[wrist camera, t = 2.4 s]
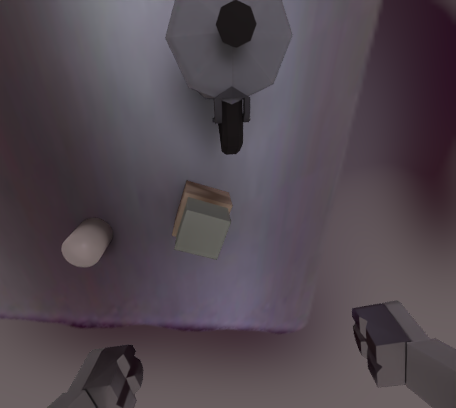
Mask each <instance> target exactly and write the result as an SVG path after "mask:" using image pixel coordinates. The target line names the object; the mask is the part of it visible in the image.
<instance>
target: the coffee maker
mask: <svg viewBox="0 0 456 408" xmlns="http://www.w3.org/2000/svg"><path fill="white" fill-rule="evenodd" d="M165 38H166V40H167V43H168V45H169V47H170V49H171V51H172V53H173V55H174V57H175V59H176V62H177V64H178V66H179V68H180V70H181V72H182V74H183V76H184V79H185V81H186V83H187V85H188V87H189V88H192V89H194V90H197V91H198V92H199V93H200V94H201V95H202V96H203V97H204V98H205V99H211V98H214V112H215V116H214V118H213V122H215V123H218V126H219V133H220V141H221V149H222V152H223V153H225V154H226V155H229V154H237V153H238V152H239V151H240V149H241V147H242V144H243V122H249V121H250V97H248V96H250V95H252V94H254V93H256V92H258V91H260V90H262V89H264V88H266V87H268V86H270V85H272V84H274V81H275V78H276V76H277V73H278V71H279V68H280V66H281V63H282V61H283V58H284V55H285V53H286V50H287V48H288V45H289V43H290V40H291V38H292V32H291V29H290V25H289V22H288V19H287V16H286V12H285V9H284V6H283V3H282V0H175V2H174V6H173V10H172V14H171V18H170V22H169V25H168V29H167V33H166V37H165ZM242 99H243V112H242Z"/></svg>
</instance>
